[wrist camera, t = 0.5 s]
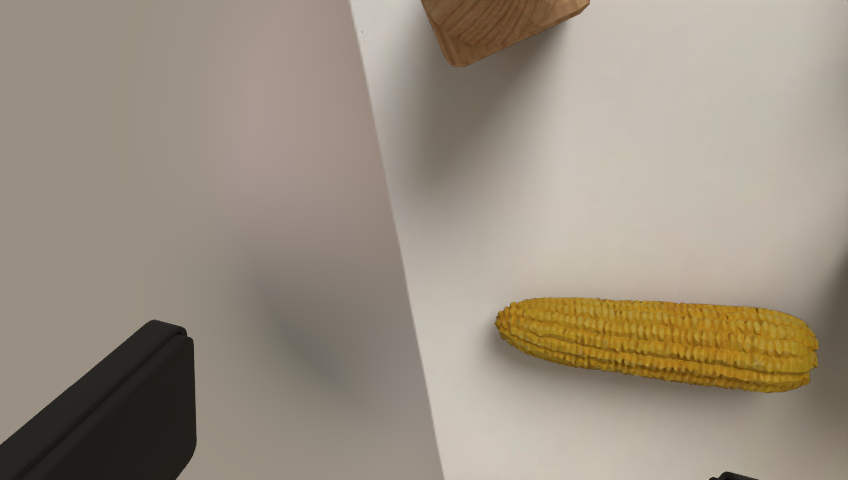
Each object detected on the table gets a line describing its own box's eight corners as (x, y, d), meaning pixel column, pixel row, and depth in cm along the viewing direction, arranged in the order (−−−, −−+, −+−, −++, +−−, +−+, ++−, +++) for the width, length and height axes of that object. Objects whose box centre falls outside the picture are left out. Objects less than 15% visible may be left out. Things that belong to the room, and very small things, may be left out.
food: (798, 293, 39) (839, 341, 33) (782, 360, 41) (818, 415, 36) (497, 280, 43) (491, 321, 38) (497, 341, 45) (491, 387, 40)
